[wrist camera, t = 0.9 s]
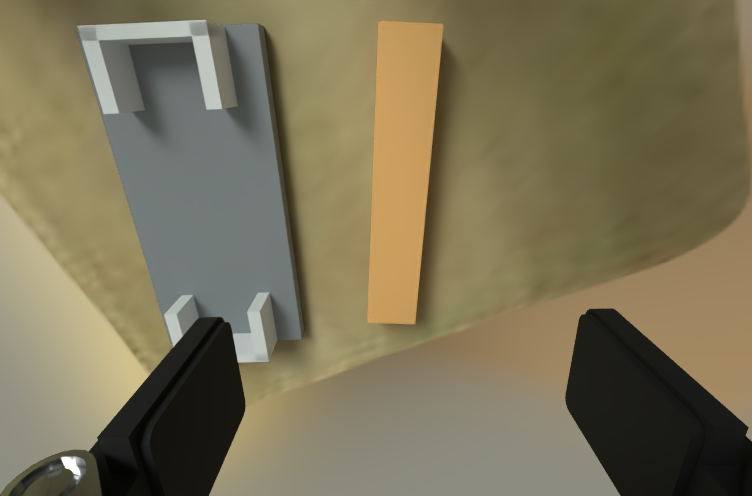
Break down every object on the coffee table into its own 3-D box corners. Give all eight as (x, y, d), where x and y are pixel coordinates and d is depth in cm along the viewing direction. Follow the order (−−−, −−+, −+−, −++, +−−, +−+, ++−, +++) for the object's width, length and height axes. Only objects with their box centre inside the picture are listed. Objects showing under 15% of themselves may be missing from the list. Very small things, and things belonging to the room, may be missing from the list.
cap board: (91, 34, 27) (39, 25, 23) (263, 26, 27) (242, 16, 22) (178, 334, 37) (153, 366, 32) (304, 330, 36) (295, 361, 32)
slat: (378, 28, 27) (378, 20, 24) (435, 30, 27) (443, 23, 24) (368, 300, 36) (367, 322, 32) (411, 302, 36) (415, 324, 32)
